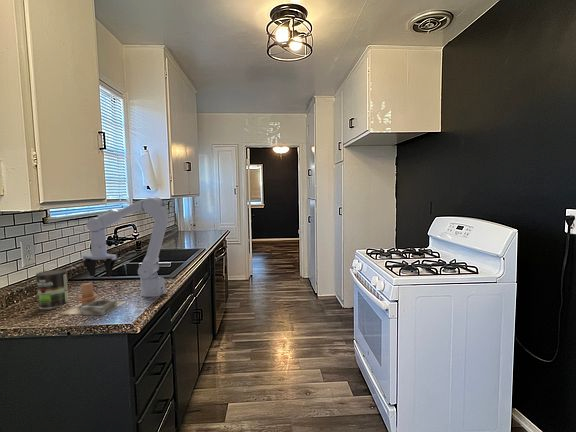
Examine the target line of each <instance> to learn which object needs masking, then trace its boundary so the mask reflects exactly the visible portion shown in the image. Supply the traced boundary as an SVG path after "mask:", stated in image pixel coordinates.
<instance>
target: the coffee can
mask: <svg viewBox="0 0 576 432" xmlns="http://www.w3.org/2000/svg"><path fill="white" fill-rule="evenodd" d="M35 278H36V287H37V298H38V309H40V310H52V309H56V308H58V307H60V306H62V305H63V306H64V305H65V304H67V303H69V294H68V293H69V291H68V278H67V269H60V268H57V269H51V270H50V269H49V270H44V271H41V272H37V273H36V274H35Z"/></svg>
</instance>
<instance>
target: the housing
mask: <svg viewBox="0 0 576 432" xmlns="http://www.w3.org/2000/svg"><path fill="white" fill-rule="evenodd" d="M124 303H126V301H117V299H98V298H96V299H95V301H92V302H90V303H88V304H86V305H84V306H82V302H81V303H78V304H77V305H75V306H72V307H70V308H69V309H66V310H64V311H62V312H59V315H92V316H93V315H95V316H104V315H105V314H107V313H109V312H111V311H112V310H114V309H116V308H117V307H120V306H121V305H123V304H124Z"/></svg>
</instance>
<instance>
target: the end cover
mask: <svg viewBox="0 0 576 432" xmlns="http://www.w3.org/2000/svg"><path fill="white" fill-rule="evenodd" d="M80 286H81V287H80V288H81V295H80V296H78V297H77V300H78V301H79V302H81V303H82V306H84V305H86V304H88V303H90V302H92V301H95V300H96V299H98V297H99V294H98V293H95V292H94V283H93V282H85V283H82V284H81V285H80Z"/></svg>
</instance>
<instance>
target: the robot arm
mask: <svg viewBox="0 0 576 432" xmlns="http://www.w3.org/2000/svg"><path fill="white" fill-rule="evenodd" d="M166 206H167V205H166V203H165V202H164V200H162V199H161V198H160V197H157V196H156V197H147V198H145V199H141V200H138V201H135V202H133V203H131V204H129V205H127V206H126V207H123V208H121V209H120V210H117V209H115V208H114V209H112V208H110V209H108V210H107V212H105V213H103V214H97V216H96V217H91V218H90V219H88V220H87V222H86V228H87V229H88V230H89V236H90V238H89V240H90V250H91V254H84V255H82V260H83V261H82V264H83V265H84V266H85V267H86V269H87V270H88V273H89V276H90V277H94V276H95V275H96V262H97V260H100V261H101V260H103V261H102V262H103V264H104V268H105V275H106V277H110V276H112V274H113V269H114V266H115V264H116V262H117V257H118V256H117V254H112V253H108V252H107V251H108V250H107V249H108V248H107V237H106V229H107V228H108V227H111V226H113V225H115V224H117V223H120V222H122V220H123V218H124V217H126V216H129V215H131V214H133V213H136V212H139V211H140V212H142V211H143V212H144V211H145V212H146V213H147V214H148V215H150V216H151V218H153V220H154V225H153V228H152V232H151V235H150V239H149V244H148V247H147V250H146V254H145V256H144V258H143V260H142V262H141V264H140V266H138V268H137V275H138V276H139V278H140V294H141V295H140V296H141V297H147V298H148V297H149V298H150V297H160V296H162V295H163V294H167V292H166V283H165V282H166V281H165V278H164V277H163V276H159V274H158V271H159V270H160V264H159V263H160V262H159V261H160V258H159V256H160V252H161V248H162V244H163V241H164V237H165V233H166V231H167V226H168V223H169V215H168V211H167V208H166Z"/></svg>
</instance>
